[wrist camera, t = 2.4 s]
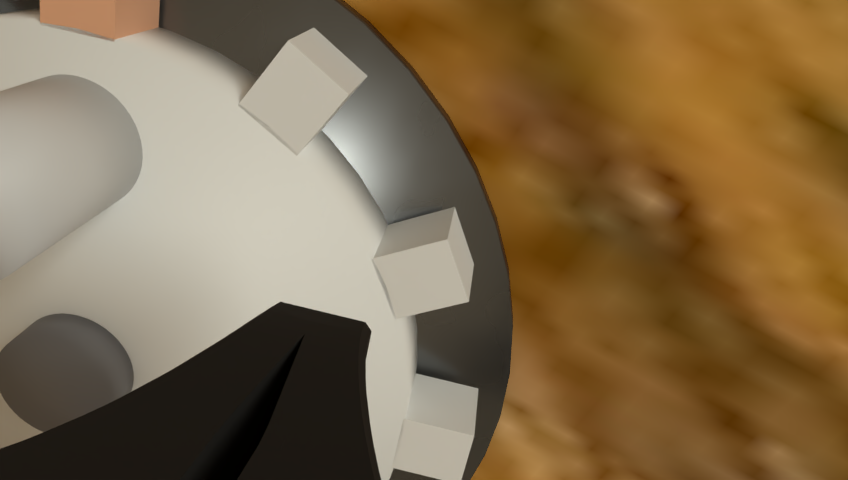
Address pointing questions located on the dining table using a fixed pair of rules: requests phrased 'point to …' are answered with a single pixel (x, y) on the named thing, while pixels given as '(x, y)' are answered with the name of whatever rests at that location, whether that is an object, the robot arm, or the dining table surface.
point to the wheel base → (387, 173)
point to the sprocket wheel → (199, 224)
